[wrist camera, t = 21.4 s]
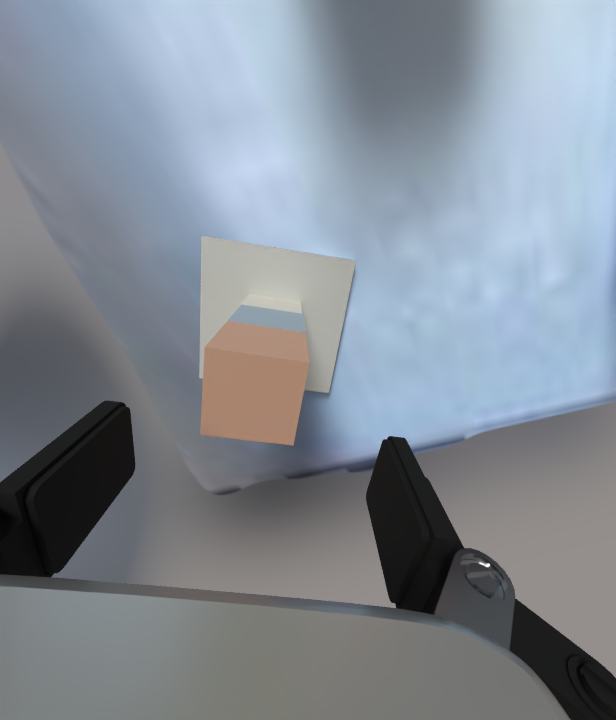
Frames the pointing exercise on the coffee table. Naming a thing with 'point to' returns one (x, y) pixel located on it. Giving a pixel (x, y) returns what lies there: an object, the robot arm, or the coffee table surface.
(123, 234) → the coffee table surface
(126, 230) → the coffee table surface
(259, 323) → the blue brick
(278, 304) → the base brick
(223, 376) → the orange cube
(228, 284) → the plate
